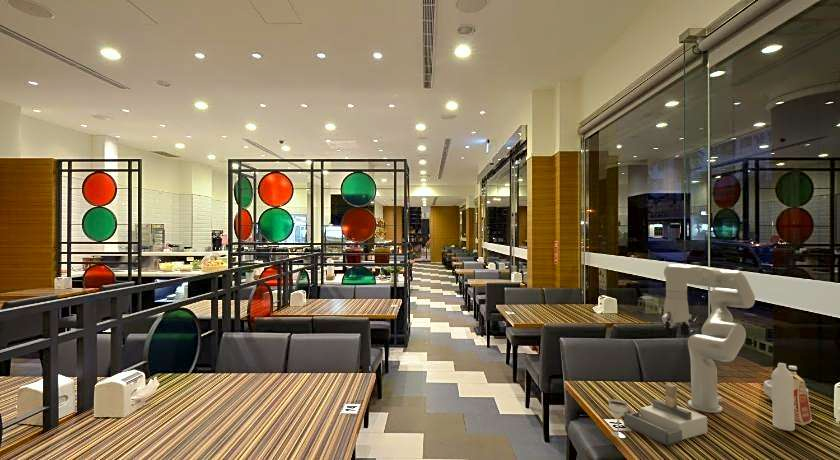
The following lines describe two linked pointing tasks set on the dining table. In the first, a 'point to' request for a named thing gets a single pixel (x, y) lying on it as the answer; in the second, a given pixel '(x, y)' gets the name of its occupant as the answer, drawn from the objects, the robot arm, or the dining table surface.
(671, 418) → the white flat square block
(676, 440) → the tray
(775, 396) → the water bottle
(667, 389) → the scraper
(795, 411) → the milk carton
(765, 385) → the paper bowls
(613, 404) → the wineglass
